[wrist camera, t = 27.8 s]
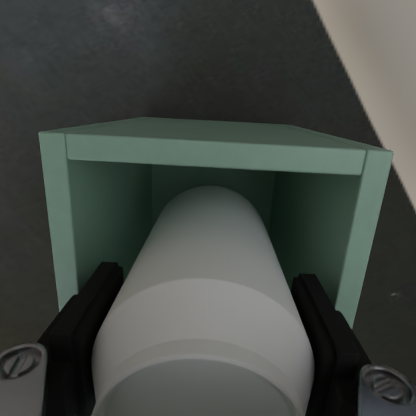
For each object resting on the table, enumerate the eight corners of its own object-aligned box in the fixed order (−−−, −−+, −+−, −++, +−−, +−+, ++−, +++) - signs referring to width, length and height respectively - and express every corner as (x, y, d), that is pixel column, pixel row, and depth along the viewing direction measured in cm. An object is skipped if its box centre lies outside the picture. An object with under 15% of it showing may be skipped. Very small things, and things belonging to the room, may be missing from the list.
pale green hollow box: (142, 116, 22) (36, 131, 9) (290, 124, 22) (395, 151, 9) (145, 271, 26) (73, 435, 13) (270, 278, 26) (323, 452, 13)
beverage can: (141, 199, 18) (7, 370, 6) (246, 166, 17) (303, 292, 6) (179, 288, 20) (126, 544, 8) (274, 262, 19) (362, 504, 7)
